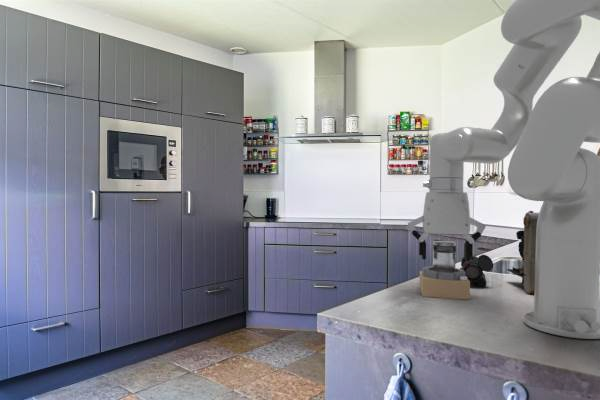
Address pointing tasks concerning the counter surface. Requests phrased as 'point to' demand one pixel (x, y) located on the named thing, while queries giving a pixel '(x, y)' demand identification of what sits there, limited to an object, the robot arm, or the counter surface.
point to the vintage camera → (527, 252)
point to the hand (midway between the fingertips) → (445, 259)
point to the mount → (444, 284)
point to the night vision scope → (477, 269)
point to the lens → (444, 256)
